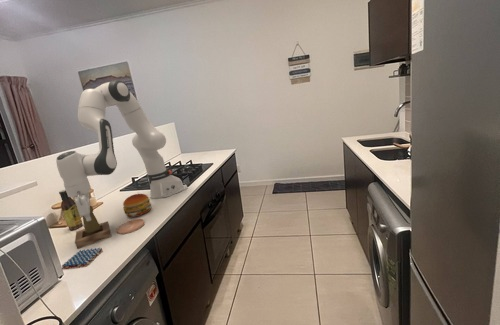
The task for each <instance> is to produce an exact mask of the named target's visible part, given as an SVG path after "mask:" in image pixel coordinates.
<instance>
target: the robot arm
mask: <svg viewBox="0 0 500 325" xmlns="http://www.w3.org/2000/svg"><path fill="white" fill-rule="evenodd" d="M113 106H116V107H117V108H118V110H119V112H120V114H121V116H122V117H123V119H124V121H125V123H126V125H127V126H128V128H129V129H130V130H132V131H133V132H134V133H135V135H133V137H132V139H131V144H132V146H133V147H134V148H135V149H136V151H137V152H138V154H139V156H140V157H141V159H142V161H143V163H144V168H145V170H146V179H147V180H148V184H149V188H150V189H149V190H150V198H152V199H158V198H159V199H160V198H167V197H170V196H173V195H175V194H177V193H181V192H183V191H186V190H187V189H188V185H187V184H185V185H183V184H184V183H183V181H182V180H181V178H179V177H177V176H175V175H173V171H172V170H170V169H167V168H166V164H165V160H164V158H163V156H162V155H161V154H160V153H159V152H158V150H162V148H164V147H165V146H166V143H167V138H166V136H165V135H164V133H162V132H160V131H159V130H158V129H157V128H156V127H155V126H154V124H153V123H152V122H151V121H150V120H149V119H148V117H147V114H146V113H145V112H144V110H143V108H142V106H141V104H140V103H139V101H138V100H137V98H136V97H135V96H134V94H133V93H132V92H131V91H130V89H129V87H128V85H127V84H126V83H125V82H124V81H122V80H120V79H117V80H115V79H113V80H111V81H108V82H104V83H102V84H101V85H98V86H97V87H93V88H86V89H85V90H83V91H82V93H81V95H80V98H79V101H78V108H77V121H78V123H79V124H80V125H81V126H82V127H83V128H84V129H86V130H89V131H92V132H95V133H96V134H97V137H98V138H97V139H98V147H99V151H98V152H97V153H93V154H92V153H91V154H82V153H78V152H77V151H75V150H71V151H66V152H64V153H61V154H59V155H58V156H57V157H56V162H55V163H56V168H57V171H58V173H59V176H60V178H61V179H62V182H63V187H64V190H66V192H67V195H68V197H71V198H72V199H73V201H74V202H75V203H76V206H77V209H78V212H79V214H80V217H82V216H85V218H86V221H91V216H90V206H91V198H90V192H91V191H92V186H91V185H90V180H89V178H88V177H92V176H93V177H94V176H109V175H112V174H113V173H114V172H115V170H116V168H117V166H118V165H117V164H118V163H117V161H118V160H117V157H116V155H115V149H114V141H113V140H114V139H113V131H112V126H111V124H110V122H109V121H108V120H107V118H106V108H108V107H113Z"/></svg>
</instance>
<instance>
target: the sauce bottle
mask: <svg viewBox="0 0 500 325" xmlns="http://www.w3.org/2000/svg"><path fill="white" fill-rule="evenodd" d="M58 194H59V196H60V199H61V203H60V207H61V211H62V214H63V217H64V219H65V223H66V225H67V228H68V230H69V231H72V230H76V229H79V228H82V226H83V219H82V216H80V214H79V212H78V209H77V206H76V202H75V200H74V199H73V198H72V197H68V195H67V192H66V190H65V189H61V190H60V191H58Z"/></svg>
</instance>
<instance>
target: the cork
mask: <svg viewBox="0 0 500 325" xmlns="http://www.w3.org/2000/svg"><path fill="white" fill-rule="evenodd" d="M90 216H91V221H86V218H85V216H81V218H82V223H83V227H84V228H83V229H85V232H86V233H90V232H94V231H96V230H98V229H99V228H100V225H99V224H100V223H99V221H98V219H97V218H96V215H95V214H94V207H93V206H92V205H90Z"/></svg>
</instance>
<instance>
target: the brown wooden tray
mask: <svg viewBox="0 0 500 325" xmlns="http://www.w3.org/2000/svg"><path fill="white" fill-rule="evenodd" d="M99 225H100V228H99V229H98V230H96V231H94V232H90V233H86V232H85V228H82V229H80V230H77V231H75V239H74V244H75V247H76V249H77V250H78V249H81V248H84V247H86V246H87V247H88V246H89V245H93V244H95V243H97V242H100V241H103V240H106V239H109V238H111V237H112V234H111V228H110V227H111V226H110V224H109V221H104V222H101V223H99Z"/></svg>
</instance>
